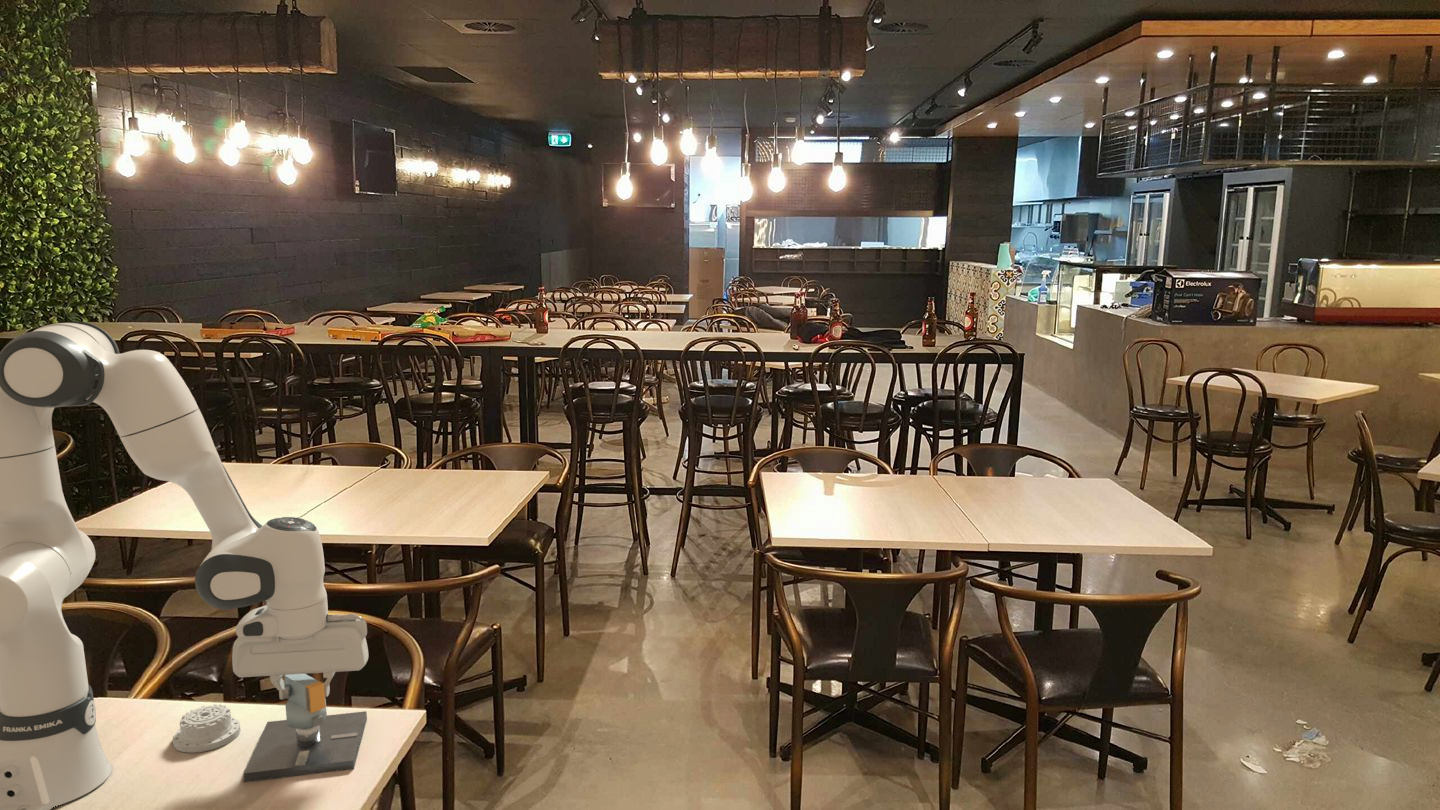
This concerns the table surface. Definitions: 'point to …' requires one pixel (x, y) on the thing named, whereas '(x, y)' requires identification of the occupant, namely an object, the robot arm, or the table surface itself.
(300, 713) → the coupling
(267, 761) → the post plate
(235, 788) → the table surface
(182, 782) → the table surface
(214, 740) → the mechanical component
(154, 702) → the table surface
